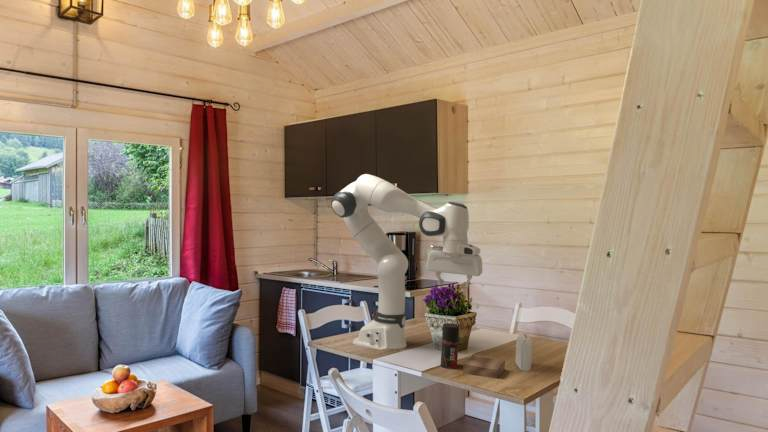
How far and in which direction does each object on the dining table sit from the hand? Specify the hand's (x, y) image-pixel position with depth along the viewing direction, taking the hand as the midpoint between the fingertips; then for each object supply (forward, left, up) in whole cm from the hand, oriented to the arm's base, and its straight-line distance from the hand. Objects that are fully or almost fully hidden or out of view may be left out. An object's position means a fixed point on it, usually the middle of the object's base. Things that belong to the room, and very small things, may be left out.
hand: (453, 285), depth 209 cm
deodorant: (0, 0, -30) cm, 30 cm away
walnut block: (+13, 0, -30) cm, 33 cm away
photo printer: (+24, +14, -30) cm, 41 cm away
